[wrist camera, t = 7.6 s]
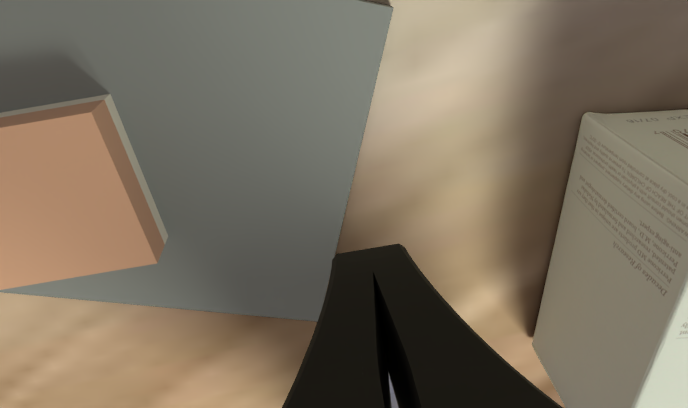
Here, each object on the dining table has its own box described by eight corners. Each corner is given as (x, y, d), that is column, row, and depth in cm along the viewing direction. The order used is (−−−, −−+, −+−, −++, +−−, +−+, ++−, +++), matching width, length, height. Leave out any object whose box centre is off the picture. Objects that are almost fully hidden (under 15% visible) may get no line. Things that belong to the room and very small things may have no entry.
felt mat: (318, 315, 23) (319, 321, 23) (-33, 282, 21) (-38, 288, 21) (391, 5, 17) (393, 7, 16) (-117, -100, 14) (-128, -100, 14)
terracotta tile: (91, 112, 15) (-98, 144, 15) (157, 263, 18) (-1, 290, 19) (110, 93, 17) (-62, 123, 17) (168, 235, 20) (22, 260, 20)
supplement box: (577, 107, 19) (523, 345, 25) (724, 204, 13) (603, 488, 19) (756, 97, 20) (660, 332, 26) (983, 185, 13) (782, 468, 20)
